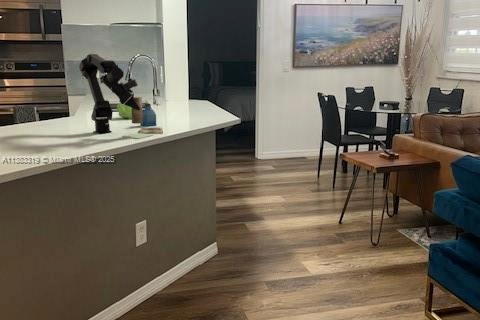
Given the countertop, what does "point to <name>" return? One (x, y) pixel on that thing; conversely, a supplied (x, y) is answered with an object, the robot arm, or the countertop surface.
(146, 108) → the perfume bottle
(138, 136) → the pad
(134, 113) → the walnut dowel
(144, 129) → the trap frame
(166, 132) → the countertop surface
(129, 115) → the green cabbage
